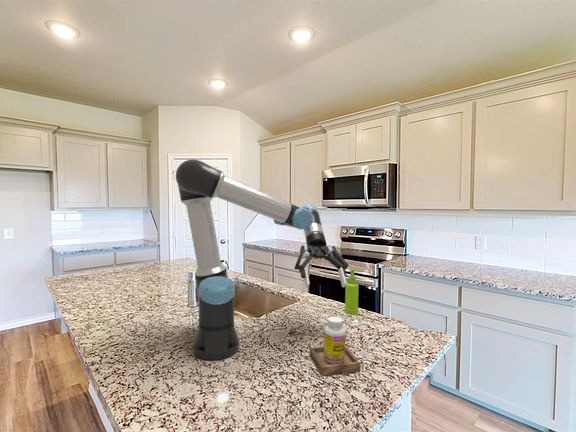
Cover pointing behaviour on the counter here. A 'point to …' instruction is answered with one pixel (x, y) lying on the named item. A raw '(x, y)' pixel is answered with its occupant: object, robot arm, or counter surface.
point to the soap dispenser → (352, 294)
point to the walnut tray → (329, 369)
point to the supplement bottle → (334, 341)
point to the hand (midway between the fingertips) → (326, 285)
